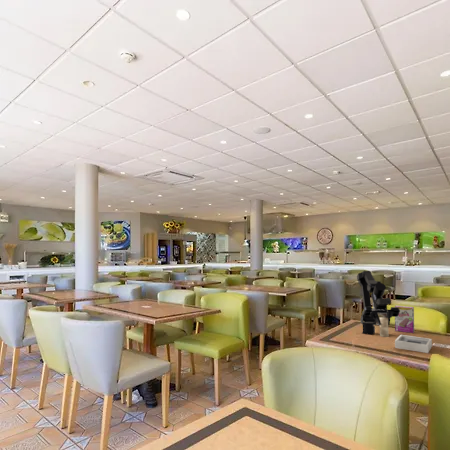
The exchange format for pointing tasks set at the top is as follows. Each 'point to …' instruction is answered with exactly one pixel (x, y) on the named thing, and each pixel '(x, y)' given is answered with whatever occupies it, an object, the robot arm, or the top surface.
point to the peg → (384, 327)
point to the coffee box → (380, 315)
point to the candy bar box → (405, 319)
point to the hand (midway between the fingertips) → (384, 324)
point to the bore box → (413, 343)
